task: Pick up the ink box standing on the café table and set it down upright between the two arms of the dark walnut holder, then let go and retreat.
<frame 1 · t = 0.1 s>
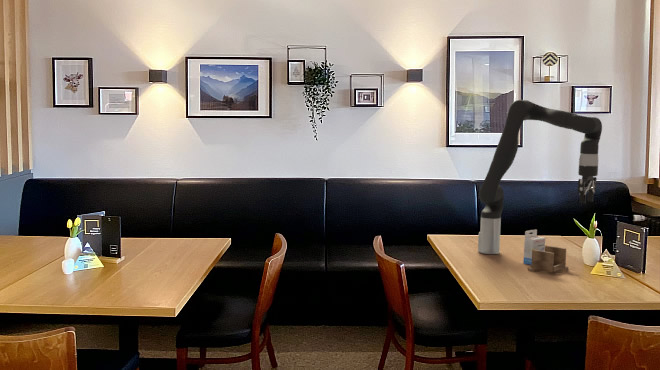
hand: (586, 202, 256), 29 cm above the table, fingers open, 8 cm apart
ink box: (533, 263, 269), on the table
holder: (548, 269, 257), on the table
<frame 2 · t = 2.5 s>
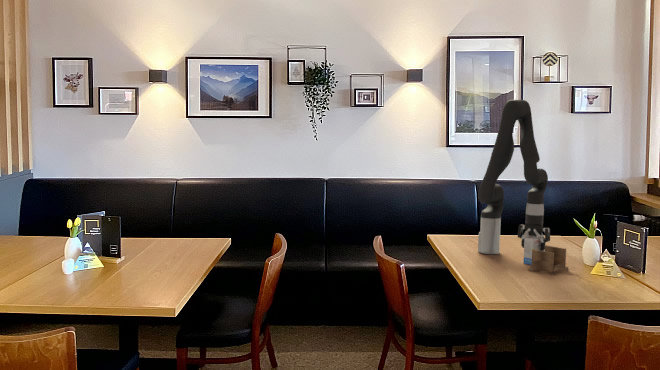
hand: (533, 249, 269), 6 cm above the table, fingers open, 8 cm apart
nothing on the table moved.
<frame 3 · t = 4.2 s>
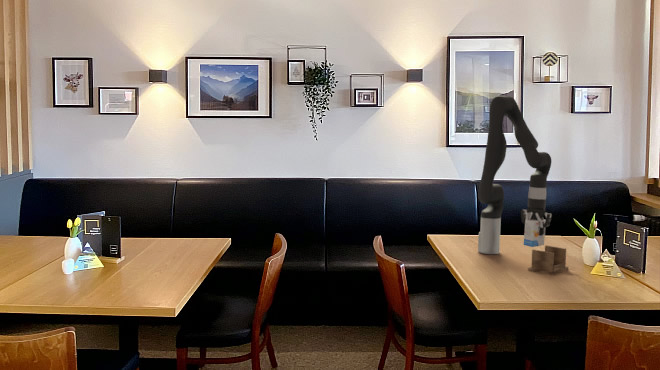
hand: (534, 234, 268), 13 cm above the table, fingers closed on ink box, 5 cm apart
ink box: (533, 245, 269), point 8 cm above the table, touching gripper
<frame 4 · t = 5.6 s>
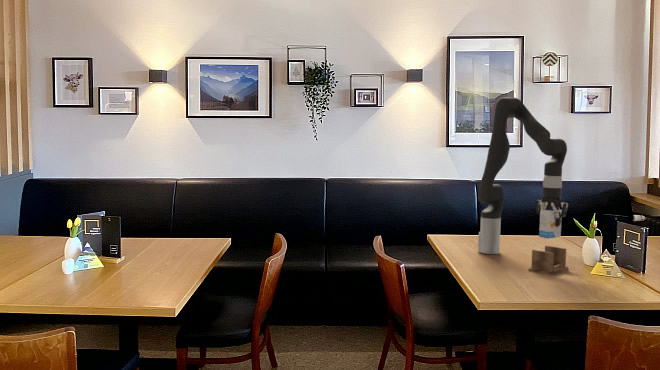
hand: (550, 225, 255), 19 cm above the table, fingers closed on ink box, 5 cm apart
ink box: (549, 237, 256), point 14 cm above the table, touching gripper
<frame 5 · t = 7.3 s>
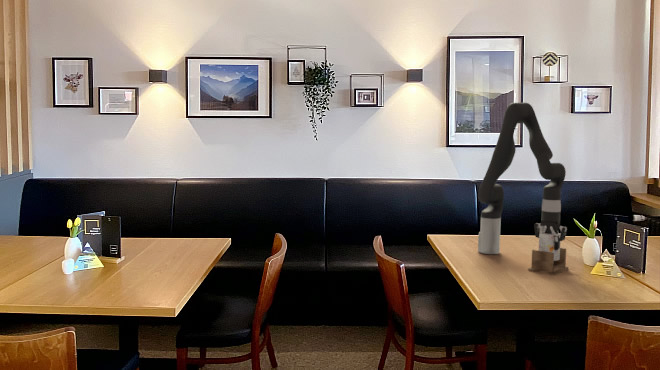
hand: (549, 248, 256), 9 cm above the table, fingers closed on ink box, 5 cm apart
ink box: (548, 260, 257), point 4 cm above the table, touching gripper
when the fingers open (6 cm above the table, at t = 8.5 s): ink box stays where it is, resting on holder.
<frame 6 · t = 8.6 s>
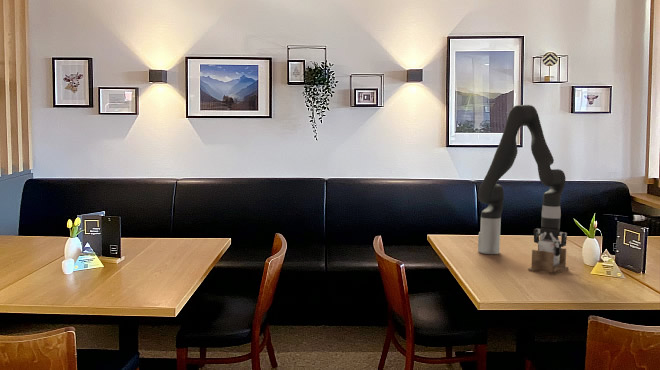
hand: (549, 254, 256), 7 cm above the table, fingers open, 6 cm apart
ink box: (548, 267, 257), point 1 cm above the table, touching holder
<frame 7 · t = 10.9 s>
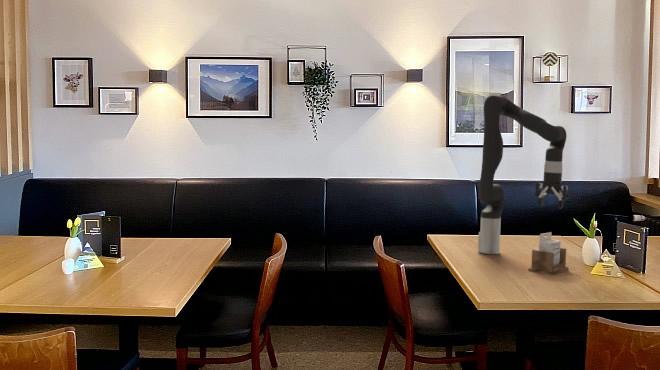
hand: (550, 207, 267), 25 cm above the table, fingers open, 8 cm apart
nothing on the table moved.
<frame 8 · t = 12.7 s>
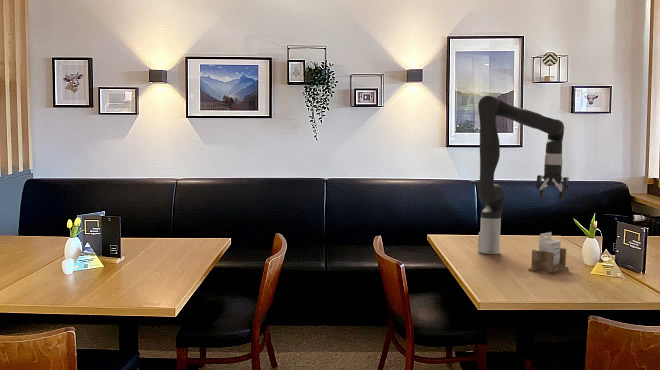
hand: (551, 198, 275), 28 cm above the table, fingers open, 8 cm apart
nothing on the table moved.
at the end: ink box 0.1 cm off-centre on the holder, point 0.8 cm above the holder's base; ink box tilted 0°; the gripper is holding nothing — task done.
